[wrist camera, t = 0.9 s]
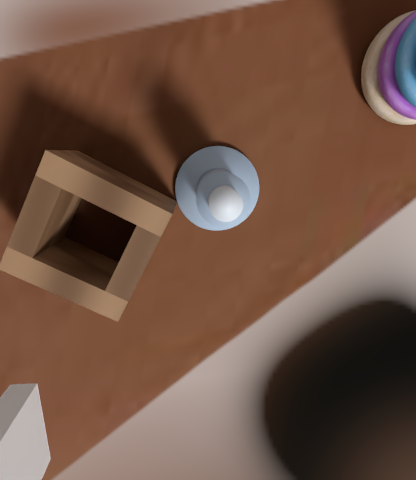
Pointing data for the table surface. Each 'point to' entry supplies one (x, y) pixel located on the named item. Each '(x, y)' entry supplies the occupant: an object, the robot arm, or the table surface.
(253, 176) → the pale blue pawn
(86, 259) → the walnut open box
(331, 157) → the table surface
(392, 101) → the stacking toy
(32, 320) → the table surface
